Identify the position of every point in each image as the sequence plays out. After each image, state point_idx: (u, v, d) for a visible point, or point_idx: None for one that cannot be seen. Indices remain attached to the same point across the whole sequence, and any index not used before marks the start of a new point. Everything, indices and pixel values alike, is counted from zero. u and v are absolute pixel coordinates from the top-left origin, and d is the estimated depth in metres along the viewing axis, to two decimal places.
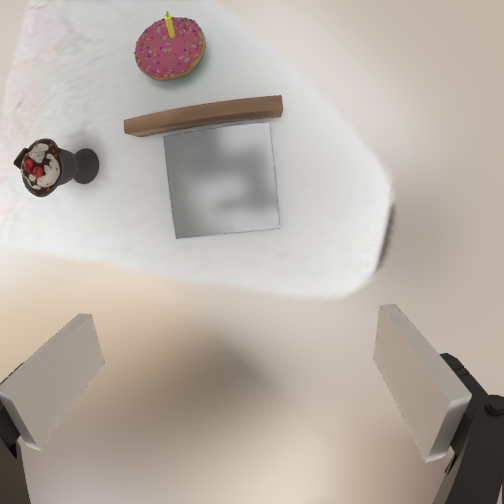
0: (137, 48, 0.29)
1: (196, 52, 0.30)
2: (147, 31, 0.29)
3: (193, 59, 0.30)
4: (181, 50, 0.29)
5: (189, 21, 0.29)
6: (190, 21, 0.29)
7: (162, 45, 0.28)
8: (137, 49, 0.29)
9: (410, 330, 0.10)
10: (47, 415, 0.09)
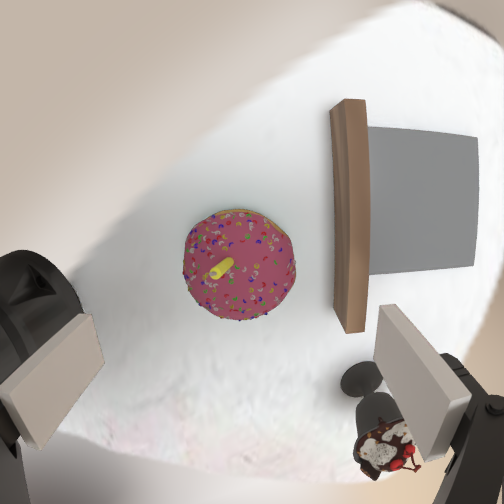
0: (236, 317, 0.23)
1: (260, 222, 0.22)
2: (208, 302, 0.23)
3: (272, 227, 0.22)
4: (259, 246, 0.21)
5: (196, 234, 0.22)
6: (196, 232, 0.22)
7: (246, 278, 0.21)
8: (238, 317, 0.23)
9: (410, 330, 0.10)
10: (47, 415, 0.09)
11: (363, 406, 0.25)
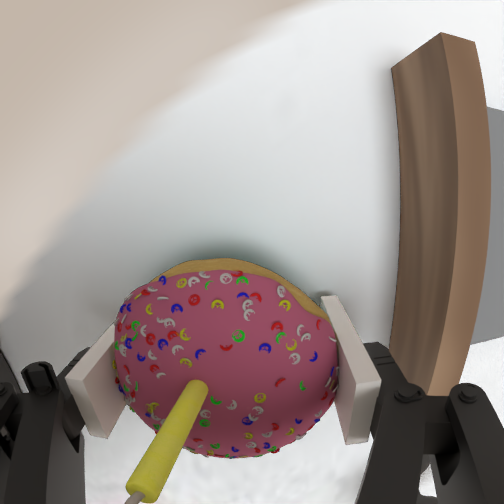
0: None
1: (269, 297, 0.09)
2: None
3: (298, 307, 0.10)
4: (267, 357, 0.09)
5: (130, 316, 0.10)
6: (130, 312, 0.10)
7: (237, 419, 0.09)
8: None
9: (341, 319, 0.12)
10: (113, 401, 0.10)
11: None
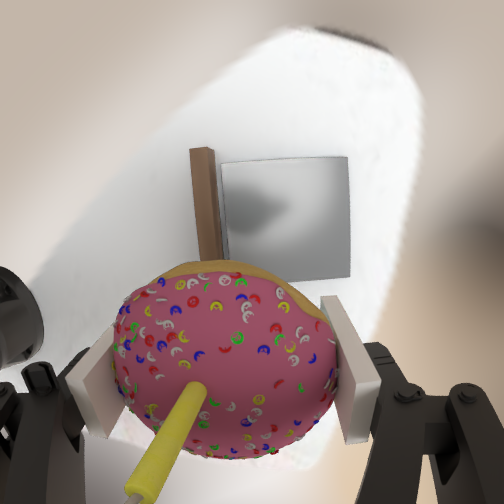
0: None
1: (268, 299, 0.09)
2: None
3: (297, 309, 0.09)
4: (266, 359, 0.09)
5: (129, 318, 0.10)
6: (129, 314, 0.10)
7: (235, 421, 0.09)
8: None
9: (341, 319, 0.12)
10: (113, 401, 0.10)
11: None
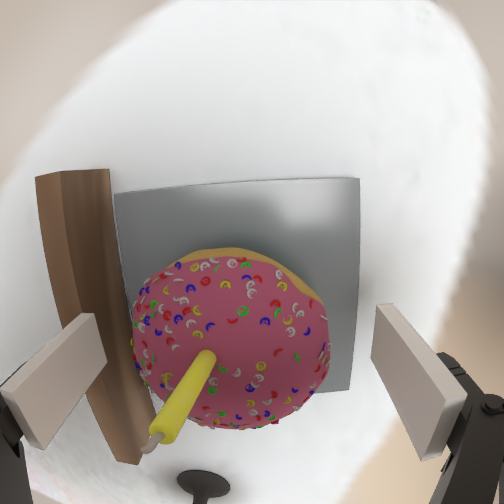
0: (226, 428, 0.13)
1: (269, 279, 0.11)
2: None
3: (293, 288, 0.11)
4: (267, 329, 0.10)
5: (149, 297, 0.11)
6: (148, 294, 0.12)
7: (240, 386, 0.11)
8: None
9: (406, 329, 0.10)
10: (50, 414, 0.09)
11: None
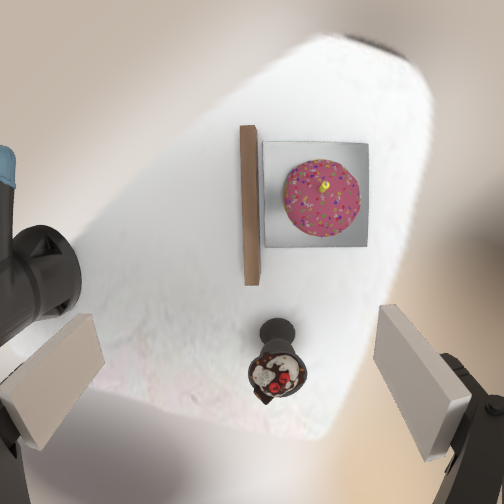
0: (320, 232, 0.33)
1: (340, 167, 0.32)
2: (303, 220, 0.33)
3: (347, 171, 0.32)
4: (341, 180, 0.31)
5: (297, 172, 0.32)
6: (297, 171, 0.32)
7: (332, 201, 0.31)
8: (322, 232, 0.33)
9: (410, 330, 0.10)
10: (47, 415, 0.09)
11: (264, 346, 0.38)
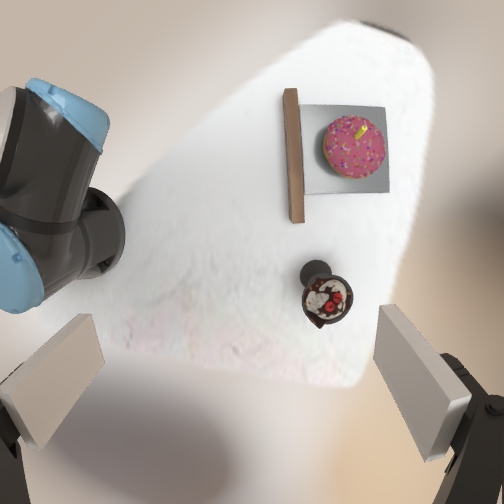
0: (356, 173, 0.38)
1: (368, 121, 0.37)
2: (342, 162, 0.38)
3: None
4: (370, 131, 0.36)
5: (335, 124, 0.37)
6: (335, 124, 0.37)
7: (365, 146, 0.36)
8: (357, 173, 0.38)
9: (410, 330, 0.10)
10: (47, 415, 0.09)
11: (310, 280, 0.43)
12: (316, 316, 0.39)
